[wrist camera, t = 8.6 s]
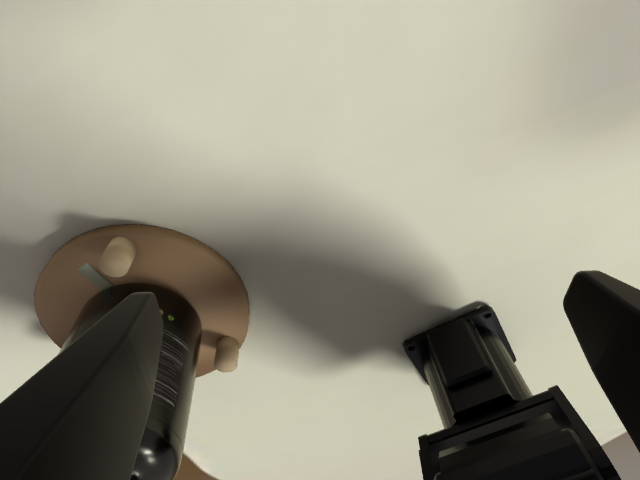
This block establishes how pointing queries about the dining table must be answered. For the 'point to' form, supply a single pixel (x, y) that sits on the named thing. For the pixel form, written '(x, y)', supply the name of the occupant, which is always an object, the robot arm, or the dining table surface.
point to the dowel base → (154, 268)
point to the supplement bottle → (158, 374)
